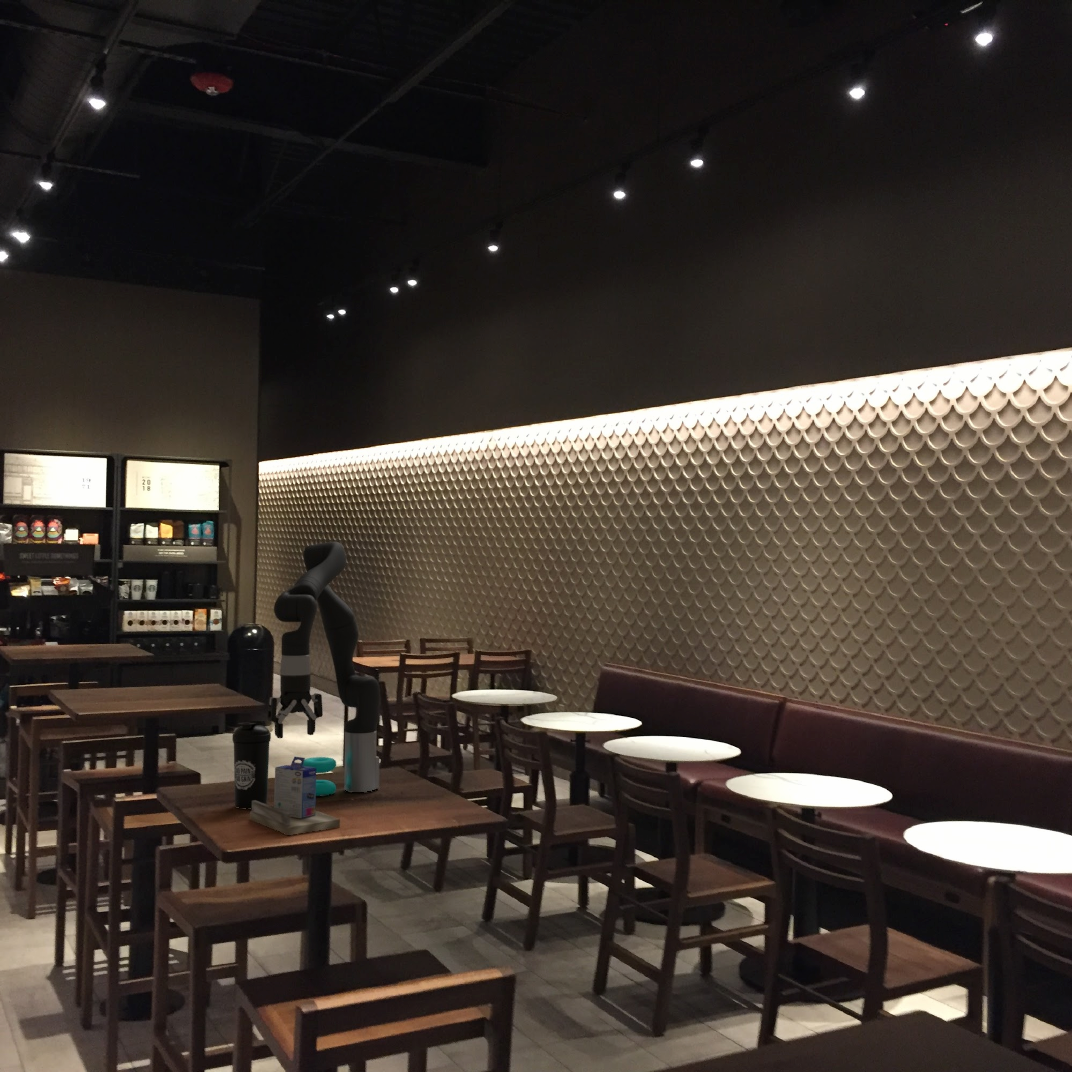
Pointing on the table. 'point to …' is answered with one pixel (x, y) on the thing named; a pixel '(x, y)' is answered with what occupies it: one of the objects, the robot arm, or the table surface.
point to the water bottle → (251, 763)
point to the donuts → (322, 767)
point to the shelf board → (290, 820)
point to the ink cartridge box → (295, 789)
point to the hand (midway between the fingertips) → (295, 736)
